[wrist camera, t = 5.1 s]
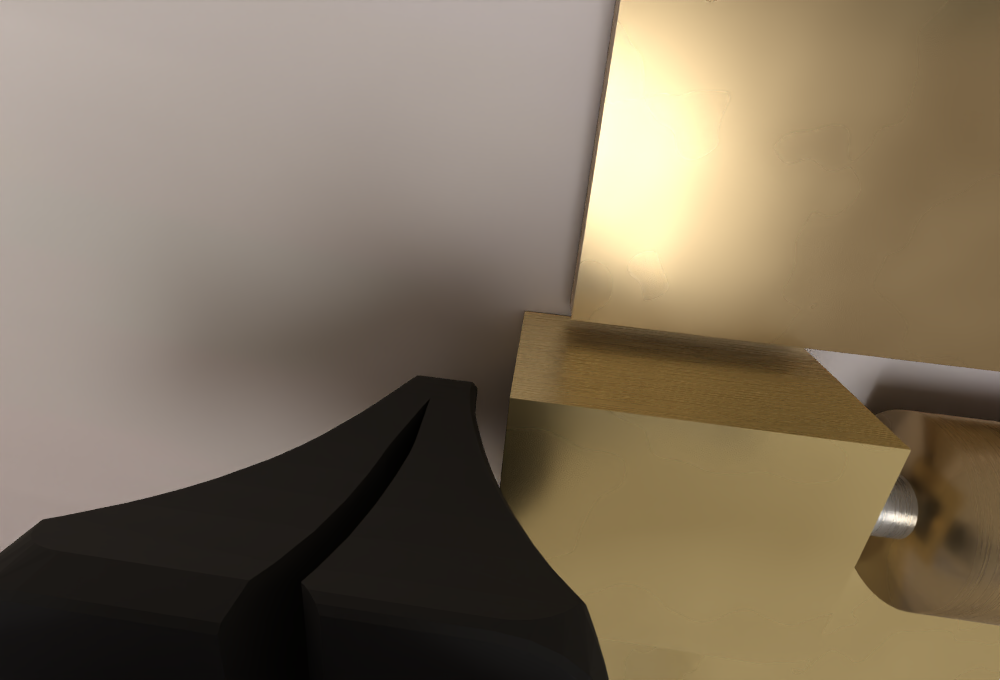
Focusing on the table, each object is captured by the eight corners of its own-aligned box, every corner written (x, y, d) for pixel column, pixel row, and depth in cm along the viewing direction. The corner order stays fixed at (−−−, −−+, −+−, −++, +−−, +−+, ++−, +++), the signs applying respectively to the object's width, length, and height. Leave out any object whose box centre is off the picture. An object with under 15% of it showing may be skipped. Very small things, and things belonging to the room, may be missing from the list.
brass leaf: (485, 653, 15) (463, 808, 12) (524, 310, 11) (509, 398, 8) (915, 722, 15) (1024, 906, 11) (1133, 384, 10) (1417, 516, 7)
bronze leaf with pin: (543, 475, 13) (538, 603, 9) (623, -50, 8) (664, -157, 5) (1073, 549, 12) (1271, 715, 9) (1443, 14, 8) (2099, -61, 4)
